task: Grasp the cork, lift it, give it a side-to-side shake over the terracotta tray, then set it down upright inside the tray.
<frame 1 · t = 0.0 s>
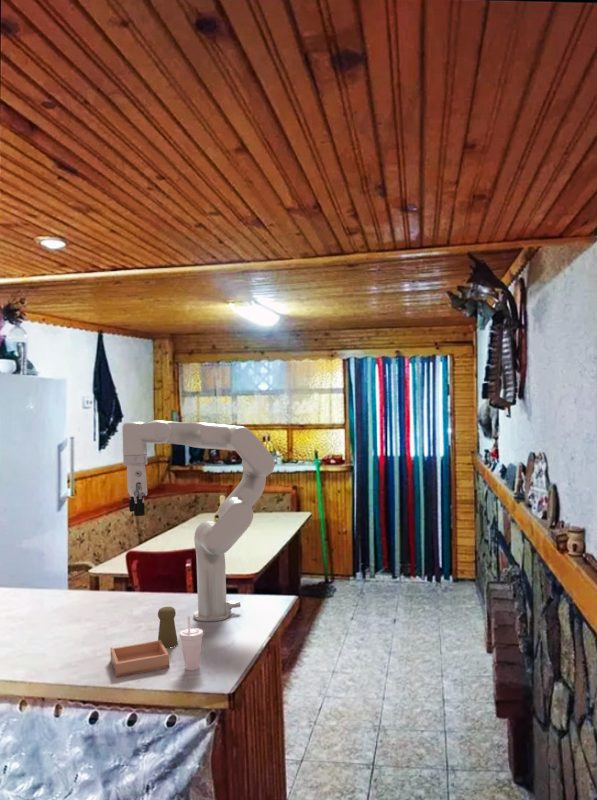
hand: (137, 513, 209), 37 cm above the counter, tool pointing down, fingers open, 9 cm apart
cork: (167, 645, 193), on the counter
terracotta tray: (139, 664, 179), on the counter
smoothie: (192, 668, 176), on the counter
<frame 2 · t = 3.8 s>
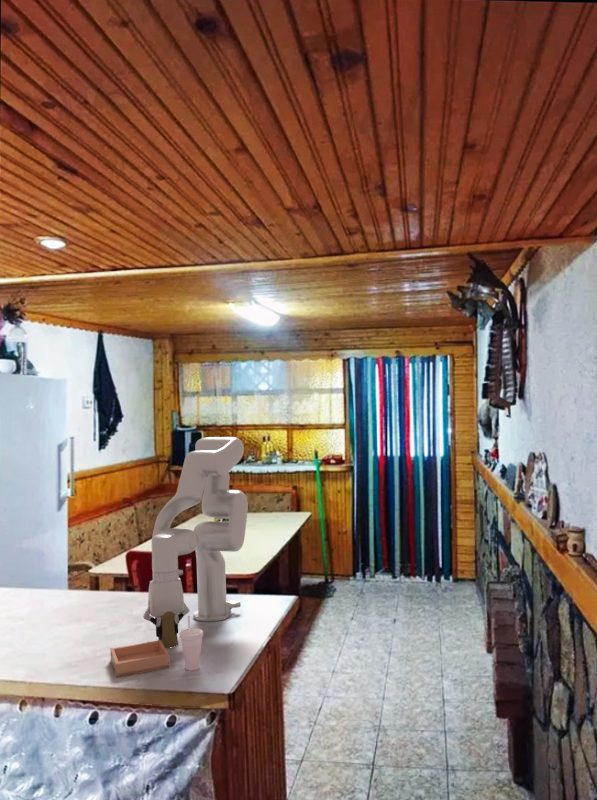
hand: (167, 636, 193), 2 cm above the counter, tool pointing down, fingers closed on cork, 3 cm apart
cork: (168, 645, 193), on the counter, touching gripper
everything else where it was.
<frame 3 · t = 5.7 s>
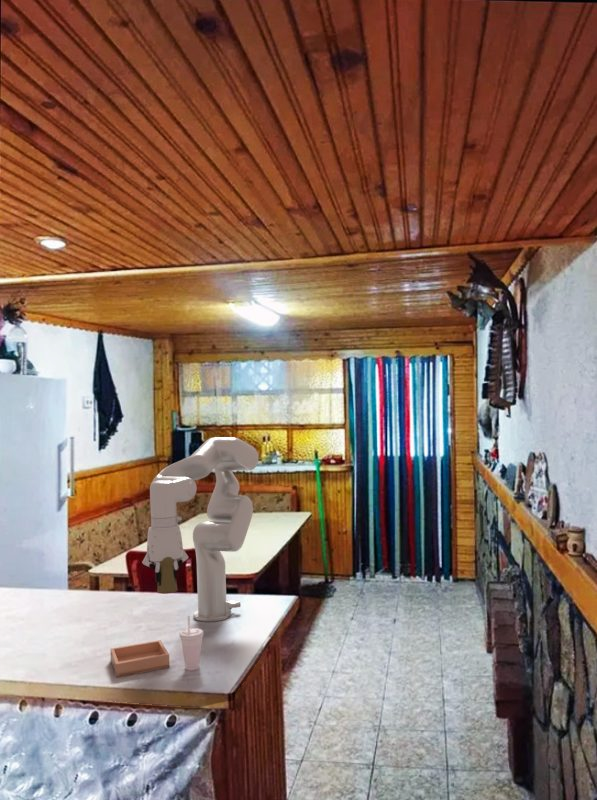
hand: (166, 582, 194), 18 cm above the counter, tool pointing down, fingers closed on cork, 3 cm apart
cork: (167, 591, 194), point 16 cm above the counter, touching gripper
everything else where it was.
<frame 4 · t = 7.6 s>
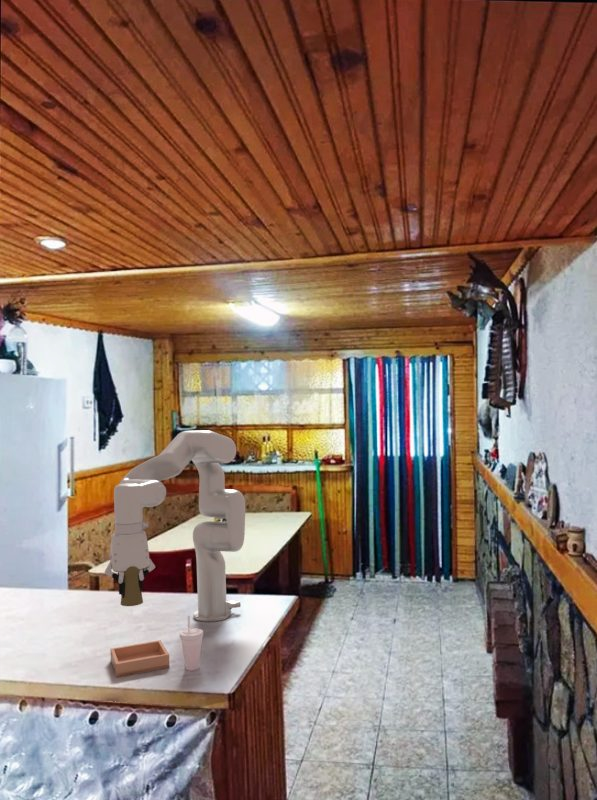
hand: (130, 594, 179), 19 cm above the counter, tool pointing down, fingers closed on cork, 3 cm apart
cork: (131, 603, 179), point 17 cm above the counter, touching gripper
everything else where it was.
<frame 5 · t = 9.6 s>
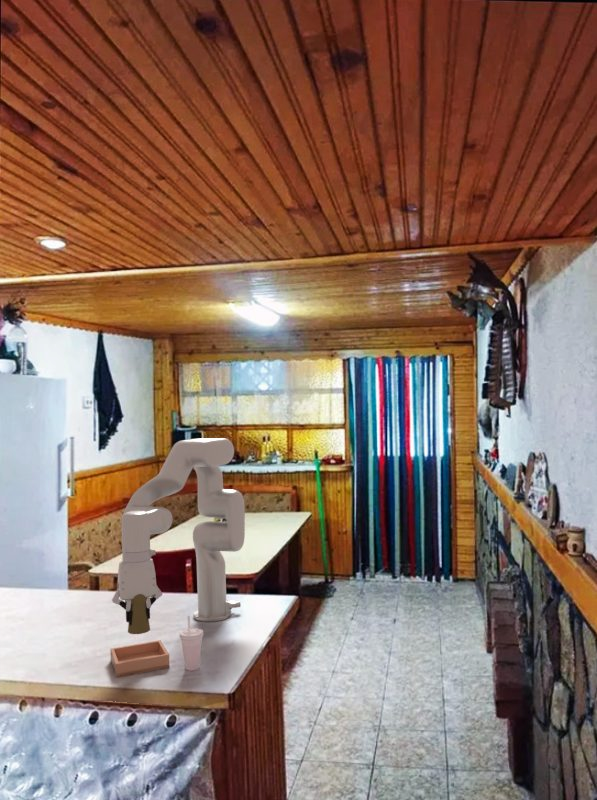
hand: (138, 622, 179), 12 cm above the counter, tool pointing down, fingers closed on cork, 3 cm apart
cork: (139, 631, 179), point 9 cm above the counter, touching gripper
everything else where it was.
when the fingers open (4 cm above the counter, at t = 11.2 s): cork drops 1 cm, resting on terracotta tray.
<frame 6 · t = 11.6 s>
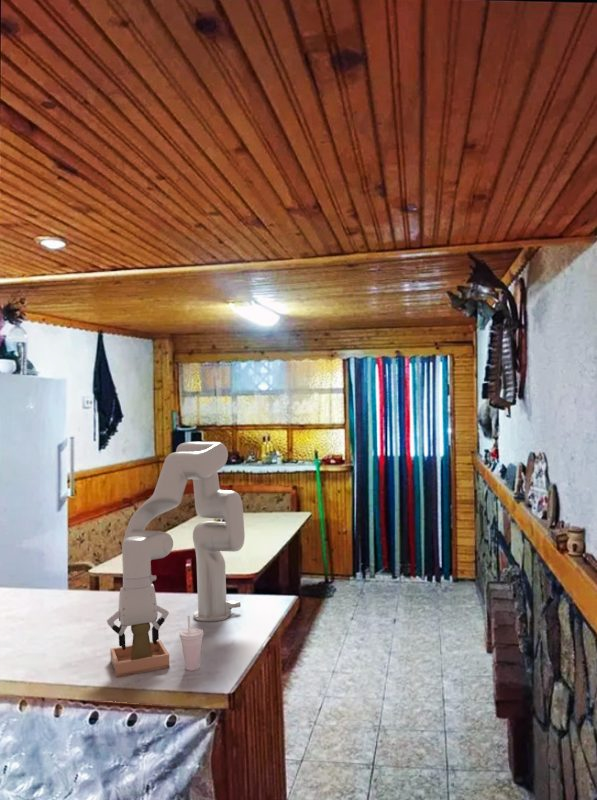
hand: (139, 645, 179), 5 cm above the counter, tool pointing down, fingers open, 8 cm apart
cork: (141, 661, 180), point 1 cm above the counter, touching terracotta tray
everything else where it was.
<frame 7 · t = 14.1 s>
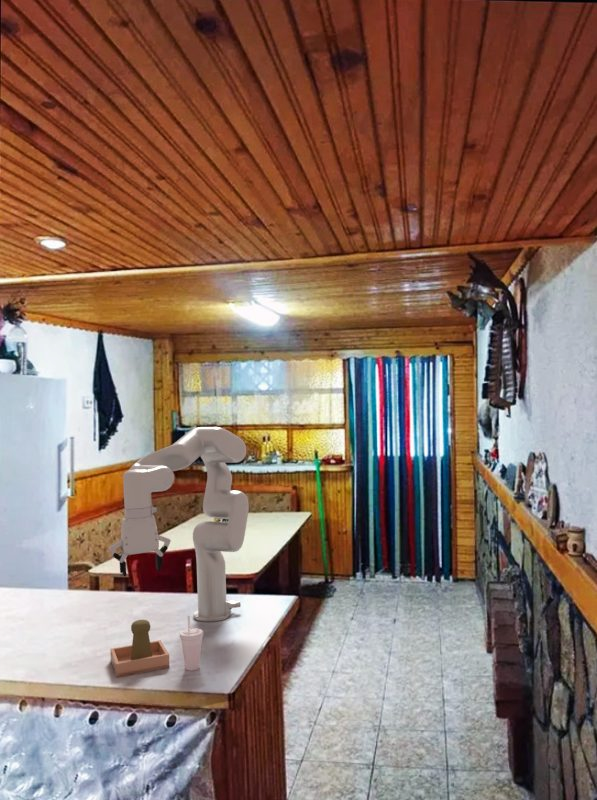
hand: (141, 572, 186), 24 cm above the counter, tool pointing down, fingers open, 9 cm apart
nothing on the counter moved.
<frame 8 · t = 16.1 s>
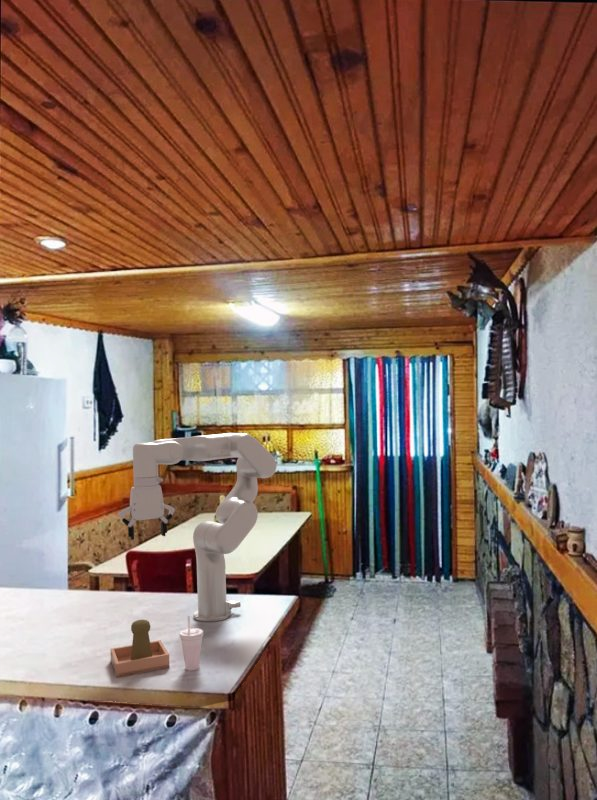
hand: (147, 537, 202), 30 cm above the counter, tool pointing down, fingers open, 9 cm apart
nothing on the counter moved.
at the end: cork inside the target area on the terracotta tray (0.6 cm from its centre), point 0.6 cm above the terracotta tray's base; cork tilted 0°; the gripper is holding nothing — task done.
